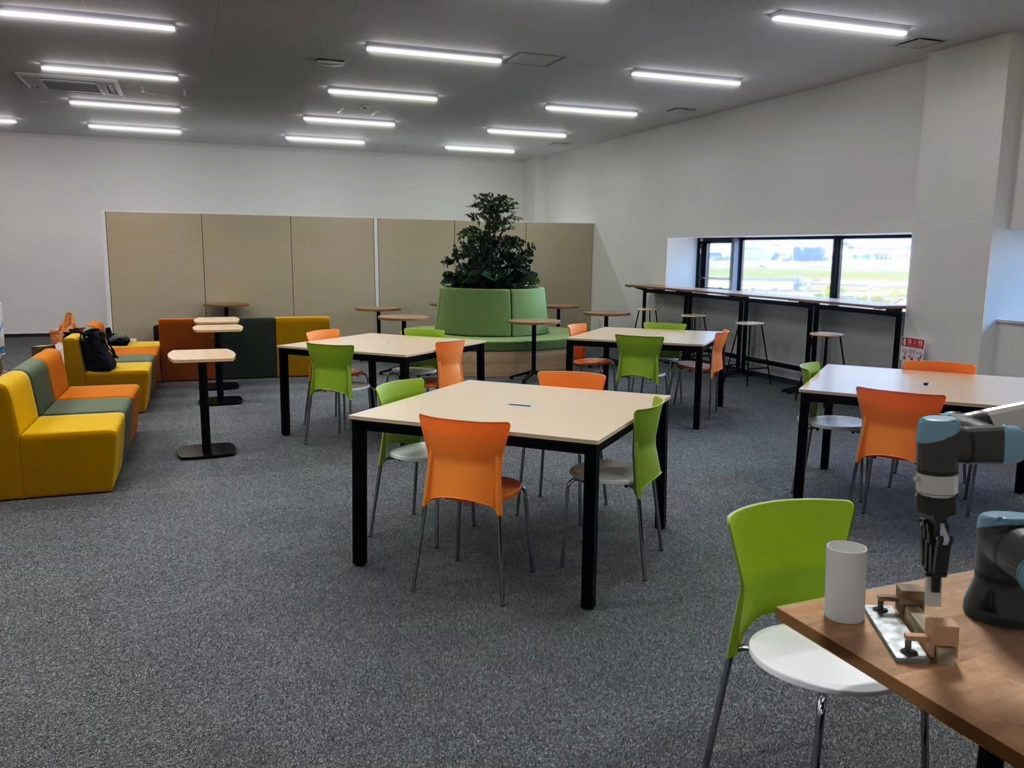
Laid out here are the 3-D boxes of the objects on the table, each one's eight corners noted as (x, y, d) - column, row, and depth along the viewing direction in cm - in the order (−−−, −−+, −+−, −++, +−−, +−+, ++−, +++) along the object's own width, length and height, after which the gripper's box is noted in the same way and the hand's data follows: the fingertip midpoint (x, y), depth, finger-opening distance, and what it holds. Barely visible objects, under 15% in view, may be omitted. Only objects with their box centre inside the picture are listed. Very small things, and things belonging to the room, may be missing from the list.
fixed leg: (918, 608, 174) (919, 584, 174) (924, 616, 170) (925, 591, 170) (874, 606, 176) (876, 582, 175) (880, 614, 172) (881, 589, 171)
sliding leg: (949, 648, 156) (951, 618, 155) (957, 658, 152) (959, 627, 151) (901, 646, 157) (902, 615, 156) (907, 655, 153) (909, 624, 152)
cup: (868, 625, 169) (871, 554, 167) (828, 622, 170) (830, 552, 168) (859, 609, 177) (862, 541, 174) (821, 607, 178) (823, 539, 176)
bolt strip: (891, 610, 176) (891, 605, 176) (929, 664, 152) (929, 658, 151) (862, 608, 177) (863, 603, 177) (896, 662, 153) (896, 656, 152)
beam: (912, 611, 175) (913, 598, 175) (954, 665, 151) (955, 651, 150) (898, 610, 176) (899, 597, 175) (938, 664, 151) (938, 650, 151)
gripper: (905, 484, 164) (902, 591, 167) (927, 502, 151) (923, 618, 154) (944, 484, 163) (940, 593, 166) (969, 502, 150) (965, 619, 153)
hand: (932, 605), depth 160 cm, fingers closed
